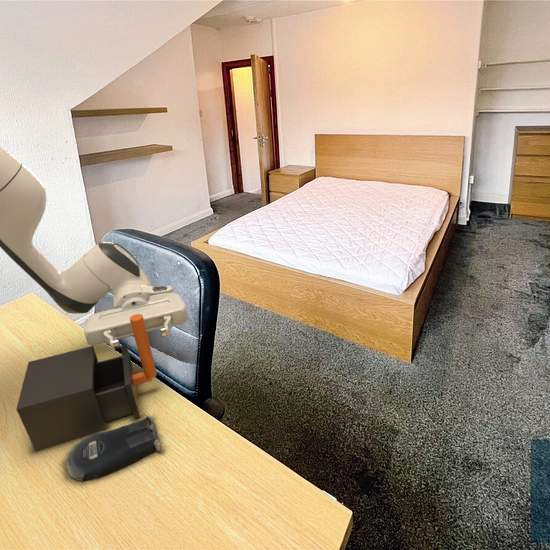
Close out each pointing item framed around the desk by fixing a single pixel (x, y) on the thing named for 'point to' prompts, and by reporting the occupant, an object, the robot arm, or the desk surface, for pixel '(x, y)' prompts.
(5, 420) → the desk surface
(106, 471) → the electronic device
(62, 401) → the brown drawer cube
